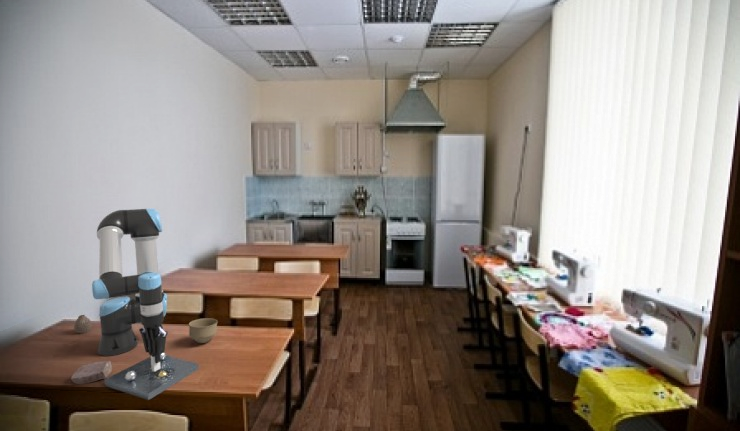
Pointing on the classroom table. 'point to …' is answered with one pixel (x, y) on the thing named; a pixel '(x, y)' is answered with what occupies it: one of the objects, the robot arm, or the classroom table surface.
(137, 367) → the plate
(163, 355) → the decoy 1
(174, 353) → the classroom table surface
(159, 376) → the brass ball
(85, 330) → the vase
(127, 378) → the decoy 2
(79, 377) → the stone
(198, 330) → the bowl
